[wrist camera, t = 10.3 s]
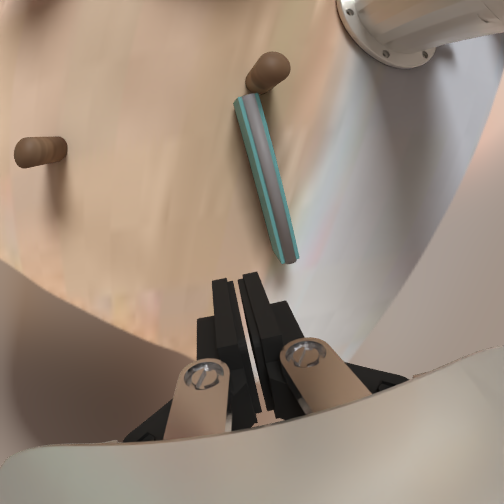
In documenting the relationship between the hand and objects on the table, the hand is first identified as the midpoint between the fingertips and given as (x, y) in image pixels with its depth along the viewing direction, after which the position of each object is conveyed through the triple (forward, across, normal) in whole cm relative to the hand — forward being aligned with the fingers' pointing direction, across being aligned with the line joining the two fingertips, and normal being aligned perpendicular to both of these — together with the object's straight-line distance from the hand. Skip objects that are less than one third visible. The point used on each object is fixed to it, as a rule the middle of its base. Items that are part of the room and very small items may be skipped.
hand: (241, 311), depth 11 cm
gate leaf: (+18, -4, -2) cm, 18 cm away
